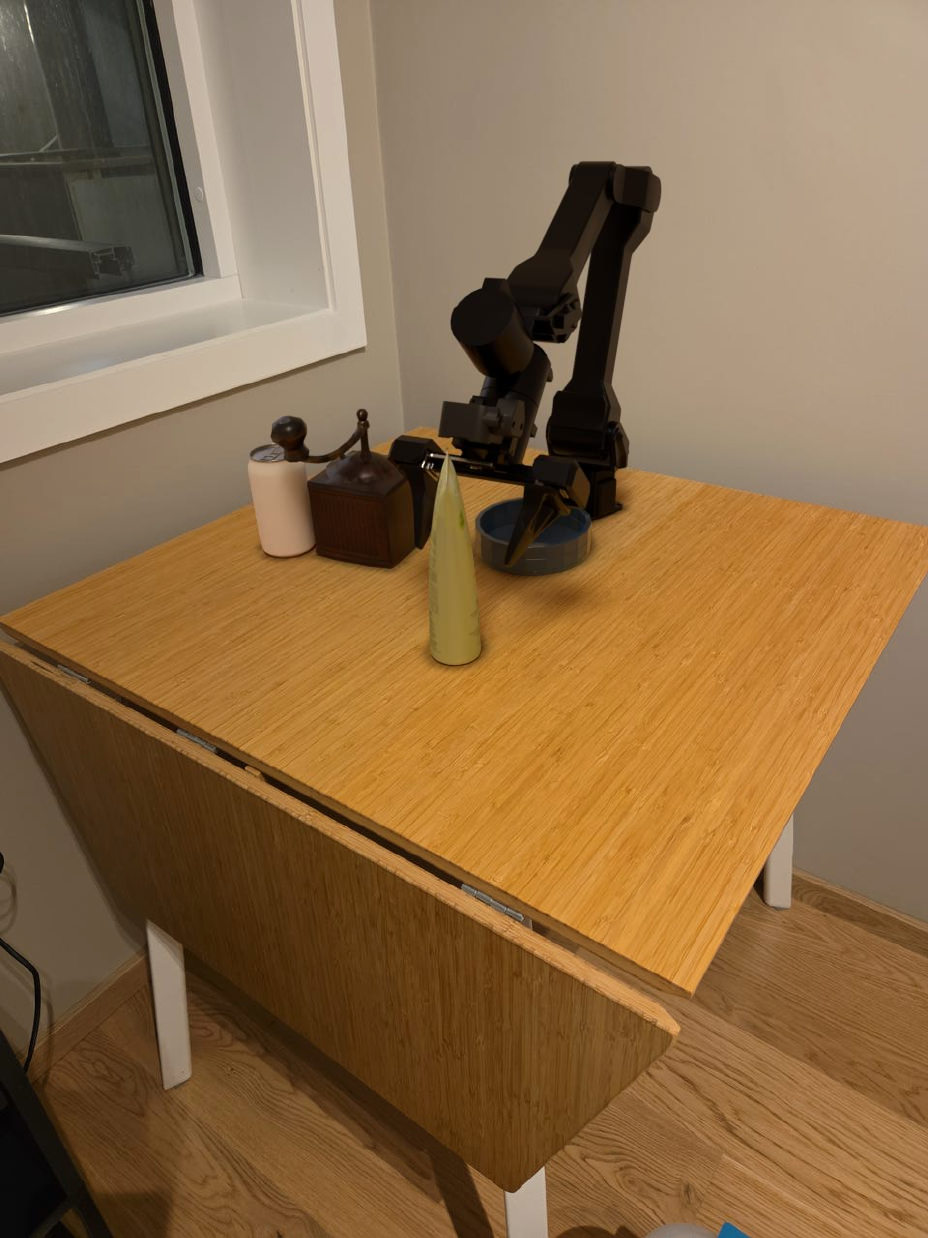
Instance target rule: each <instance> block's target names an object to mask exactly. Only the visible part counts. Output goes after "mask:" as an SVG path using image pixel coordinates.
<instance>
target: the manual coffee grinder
mask: <svg viewBox="0 0 928 1238" xmlns="http://www.w3.org/2000/svg"><path fill="white" fill-rule="evenodd" d="M355 415H356V418H357V422H356V429H355V430H354V432H353V433H352V434H351V436H350V437H349V438H348V440H347V441H345V442H344V443H343V444H342V445H341V446H339V447H338V448H337V449H335V450H333V451H332V452H329V453H326V454H321V455H310V451H311V450H310V449H309V447H307V445H306V444H305V440H306V437H307V435H308V424H307V423H306V422H305V421H304V419H302V418H301V417H298V416H293V415H284V416H281V417H279V418H278V419H276V420H275V421H274V422H273V423H272V424H271V432H270V439H271V441H272V443H276V444H277V445H279V446H280V447H281V448H283V449H284V460H286V461H288V462H290V463H296V462H305V464H315V465H319V464H326V466H325V468H324V469H322V470H321V471H320V472H318V473H317V474H315V475H314V476H313V477H311V478H310V479H307V480H308V481H307V487H308V492H309V499H310V506H311V513H312V520H313V527H314V534H315V540H316V543H315V553H316V555H317V554H318V555H321V556H323V557H325V558H329V559H332V560H336V561H342V562H347V563H352V564H356V565H361V566H366V567H373V568H374V567H375V568H384V569H393V568H394V567H396V566H397V565H398V564H400V563H401V562H402V561H404V559H406V557H408V556H409V555H410V553H412V552H413V551H414V550H415V549H417V548H416V547H415V545H414V519H413V501H412V494H411V488H410V485H409V482H408V480H407V479H406V478H405V477H404V476H403V475H402V474H400V473H399V472H398V469H397V468H396V467H395V466H394V465H393V464H392V463H391V462H390V461H389V460H388V459H387V457H388V454H384V453H380V452H376V451H372V450H371V449H370V443H369V429H370V427H371V425H370V421H369V420H368V417H369V412H368V410H367V409H366V408H359V409H357V411H356V412H355ZM359 441H360V449H359V450H353V449H352V450H351V451H350V449H351V448H353V447H354V446H355V445H356V444H357V443H358V442H359ZM348 451H350V452H348ZM347 452H348V453H347Z"/></svg>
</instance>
